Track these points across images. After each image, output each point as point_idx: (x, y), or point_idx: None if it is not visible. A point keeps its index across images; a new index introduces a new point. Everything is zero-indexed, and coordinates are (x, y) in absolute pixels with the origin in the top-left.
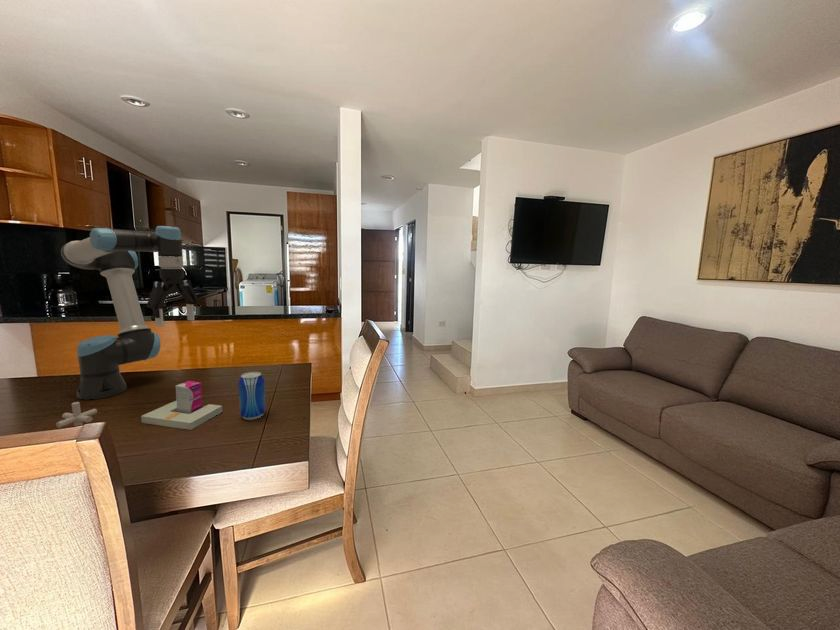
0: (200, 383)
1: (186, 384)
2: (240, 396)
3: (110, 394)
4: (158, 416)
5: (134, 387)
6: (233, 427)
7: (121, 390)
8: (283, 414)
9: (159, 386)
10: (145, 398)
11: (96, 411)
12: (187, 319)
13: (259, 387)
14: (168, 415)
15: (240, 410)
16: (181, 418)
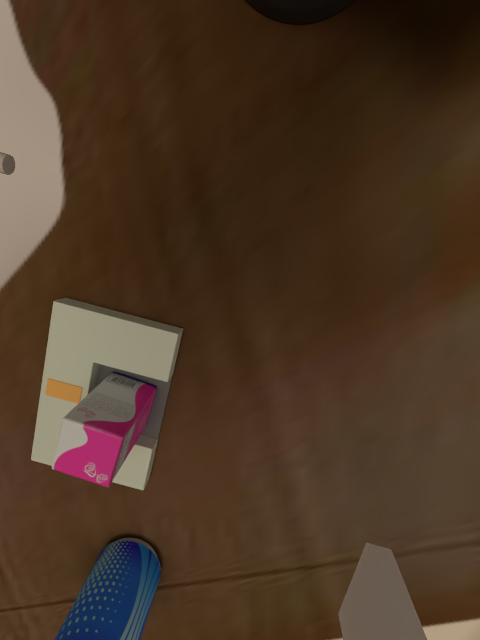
0: (104, 485)
1: (79, 449)
2: (74, 604)
3: (257, 6)
4: (57, 353)
5: (367, 26)
6: (67, 536)
7: (301, 17)
8: (146, 623)
9: (375, 134)
10: (245, 171)
11: (5, 173)
12: (366, 551)
13: None
14: (65, 377)
15: (99, 559)
16: (52, 423)
